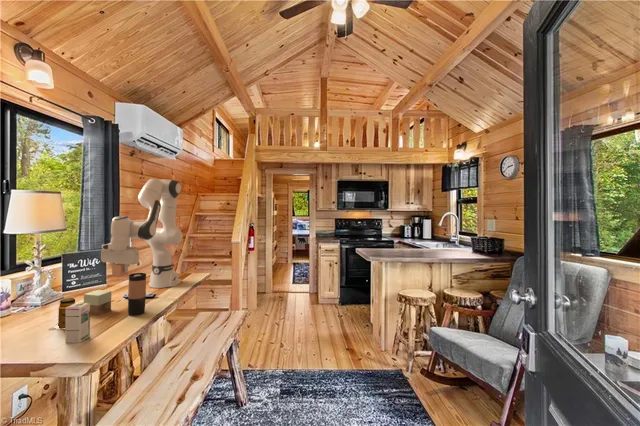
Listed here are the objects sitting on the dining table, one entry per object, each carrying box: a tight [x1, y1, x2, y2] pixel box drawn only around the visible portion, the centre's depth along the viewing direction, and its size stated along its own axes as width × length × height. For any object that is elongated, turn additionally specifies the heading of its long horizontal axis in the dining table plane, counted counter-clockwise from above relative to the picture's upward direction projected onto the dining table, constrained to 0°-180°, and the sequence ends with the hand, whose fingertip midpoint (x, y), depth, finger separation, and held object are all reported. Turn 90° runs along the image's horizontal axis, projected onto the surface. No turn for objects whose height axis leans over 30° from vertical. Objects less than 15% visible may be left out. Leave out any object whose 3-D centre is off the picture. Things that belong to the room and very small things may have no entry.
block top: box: [83, 289, 112, 306], centre depth 153 cm, size 8×8×5 cm
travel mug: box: [127, 272, 147, 317], centre depth 153 cm, size 8×8×20 cm
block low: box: [90, 300, 112, 316], centre depth 154 cm, size 8×8×5 cm
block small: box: [111, 263, 129, 278], centre depth 165 cm, size 5×5×6 cm
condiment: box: [49, 297, 76, 330], centre depth 135 cm, size 7×8×12 cm
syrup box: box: [64, 301, 91, 344], centre depth 123 cm, size 6×6×14 cm
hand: (120, 271), depth 165 cm, fingers closed on block small, 5 cm apart
